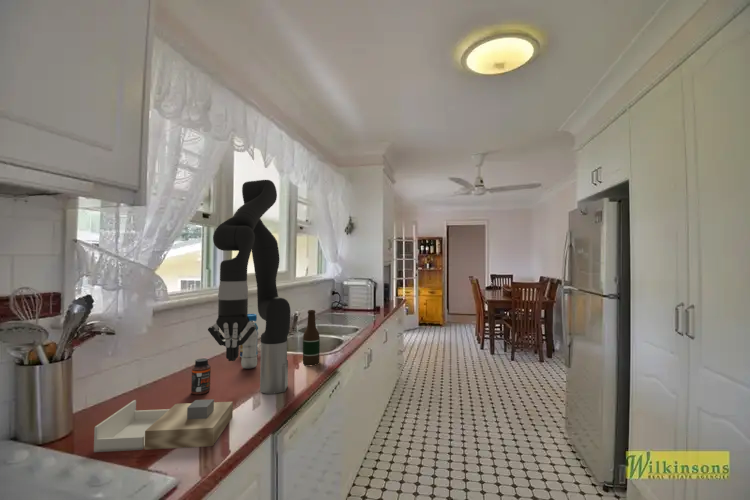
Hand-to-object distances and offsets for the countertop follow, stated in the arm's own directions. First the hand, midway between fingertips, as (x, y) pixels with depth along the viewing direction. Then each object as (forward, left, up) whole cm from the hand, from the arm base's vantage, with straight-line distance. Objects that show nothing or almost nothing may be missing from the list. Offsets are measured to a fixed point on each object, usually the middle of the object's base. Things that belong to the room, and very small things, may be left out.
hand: (232, 360), depth 94 cm
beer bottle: (-17, -59, -19) cm, 64 cm away
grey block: (+8, 0, -14) cm, 16 cm away
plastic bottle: (+9, -55, -19) cm, 59 cm away
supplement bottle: (+19, -29, -19) cm, 40 cm away
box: (+24, 0, -19) cm, 31 cm away
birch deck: (+10, 0, -19) cm, 21 cm away
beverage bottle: (+14, -74, -19) cm, 78 cm away
